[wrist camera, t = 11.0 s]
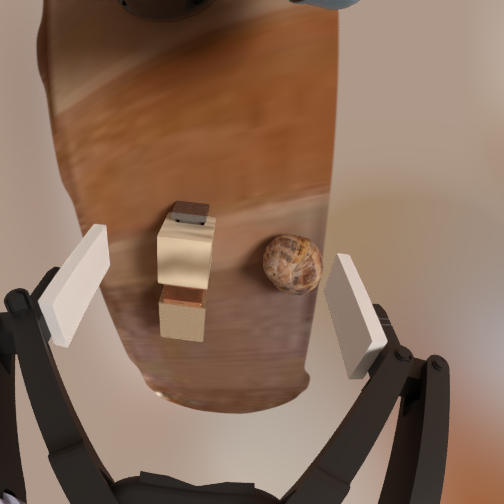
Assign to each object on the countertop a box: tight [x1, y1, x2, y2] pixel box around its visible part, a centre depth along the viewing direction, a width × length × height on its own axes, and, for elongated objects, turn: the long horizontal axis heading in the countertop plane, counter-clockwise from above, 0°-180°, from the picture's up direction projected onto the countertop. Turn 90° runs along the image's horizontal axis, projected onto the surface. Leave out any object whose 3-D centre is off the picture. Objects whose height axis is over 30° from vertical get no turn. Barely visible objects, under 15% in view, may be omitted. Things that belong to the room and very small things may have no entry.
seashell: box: [263, 235, 323, 295], centre depth 49 cm, size 10×9×10 cm
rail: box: [159, 201, 210, 342], centre depth 49 cm, size 23×7×8 cm, turn 171°
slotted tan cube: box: [157, 212, 216, 290], centre depth 46 cm, size 9×7×8 cm
